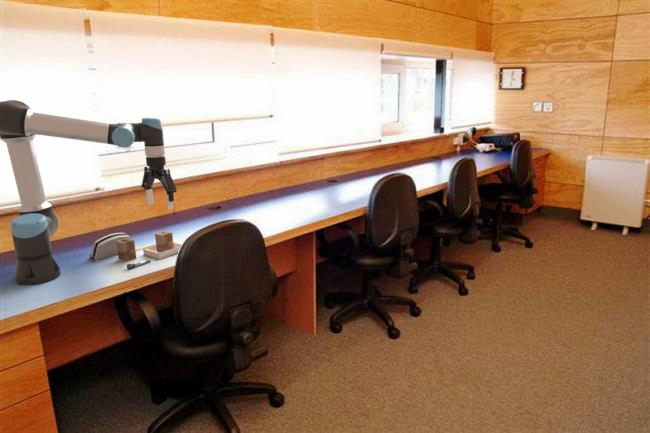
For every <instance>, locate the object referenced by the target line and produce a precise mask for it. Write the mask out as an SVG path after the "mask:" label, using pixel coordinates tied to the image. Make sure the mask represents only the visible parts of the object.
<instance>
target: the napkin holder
mask: <svg viewBox="0 0 650 433" xmlns="http://www.w3.org/2000/svg"><path fill="white" fill-rule="evenodd" d="M125 238H129V239H131V237H130V236H129V235H128V234H127V233H125V232H114V233H110V234H106V235H105V236H102V237H100V238H98V239H97V240H95V241H94V242H93V246H92V250H91V253H89V259H91V258H93V260H95V261H98V260H101V259H104V258H107V257H111V256H113V255H118V251H117V244H116V241H118V240H122V239H125Z"/></svg>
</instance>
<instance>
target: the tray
mask: <svg viewBox="0 0 650 433" xmlns="http://www.w3.org/2000/svg"><path fill="white" fill-rule="evenodd" d="M182 244H183V243H182V242H178V241H175V240H173V245H174V248H172V249H169V250H166V251H163V252H157V248H156V245H155V244H153V245H154V246H151V245H150V246H151V247H148V246H147V247H148V248H144V247H143V248H144V249H142V251H143V255H145V256H147V257H150V258H154V259H157V260H163V259H166V258H168V257H171V256H174V255H177V253H178V250H179V248H180V247H181V245H182ZM178 254H179V253H178Z"/></svg>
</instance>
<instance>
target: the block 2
mask: <svg viewBox="0 0 650 433" xmlns="http://www.w3.org/2000/svg"><path fill="white" fill-rule="evenodd" d="M154 236H155V237H154V238H155V244H156V248H157V252H163V251H166V250H169V249H172V248H174V245H173V241H174V236H173V232H171V231H168V230H163V231H160V232H156V233H154Z"/></svg>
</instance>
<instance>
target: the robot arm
mask: <svg viewBox="0 0 650 433" xmlns="http://www.w3.org/2000/svg"><path fill="white" fill-rule="evenodd" d="M36 136H44V137H45V136H46V137H53V138H61V139H67V140H69V139H70V140H77V141H82V142H83V141H84V142H90V143H100V144H106V145H112V146H117V147H119V148H129V147H130V146H132V145H133V144H134V143H142V142H143V143H144V144H143V145H144V155H145V156H146V157H145V163H146V166H144V167H143V169H144V170H143V171H144V172H143V176H142V181H141V188H143V189H144V190H145V196H146V204H147V206H151V205H154V204H155V203H154V202H155V201H154V192H153V184H154V182H155V180H158V181H159V182H160V183H161V185H162V186H163V189H164V190H165V192H166V193H165V198H166V199H165V200H166V207H167V208H166V210H168V211H170V210H174V209H175V206H174V202H175V200H174V193H177V191H178V190H177V188H176V185H175V183H174V181H173V178H172V175H171V169H170V168H166V169H165V166H166V164H167V162H166V156H165V154H166V153H165V142H164V141H165V140H164V130H163V122H162V119H161V118H160V117H158V116H147V117H142V118H141V122H136V123H135V122H134V123H133V122H131V123H130V122H126V123H122V122H119V123H106V122H101V121H94V120H93V121H92V120H85V119H80V118H73V117H67V116H60V115H53V114H46V113H39V112H34V111H33V110H32V108H31V107H30V106H29V105H28V104H27V103H25V102H23V101H19V100H14V99H9V100H2V101H0V140H1V141H2V142H4V143H5V144H6V147H7V150H8V151H7V152H8V155H9V159H10V165H11V167H12V173H13V176H14V180H15V184H16V188H17V192H18V195H19V200H20V207H18V209H17V212H18V215H19V216H16V217H15V218H13V219H12V220H11V222H10V234H11V236H12V237H11V238H12V241H13V242H12V243H13V247H14V253H15V258H16V265H15V270H14V275H13V277H14V282H15V284H18V285H23V286H24V285H25V286H28V285H29V286H30V285H37V284H38V285H39V284H42V283H47V282H49V281H52V280H55V279H57V278H58V277H60V276H61V274H62V273H61V268H60V266H59V265H60V264H58V262H57V260H56V258H55V257H54V256H53V251H52V245H51V244H52V243H51V238H52V237H53V236H54V234H56V232H57V230H58V228H59V218H58V216H57V214H56V213H55V212H54V209H53V205H52V203H50V202H48V201H47V198H46V197H47V196H46V193H45V188H44V185H43V181H42V176H41V172H40V168H39V167H40V166H39V163H38V159H37V154H36V150H35V145H34V141H33V140H34V139H35V137H36Z"/></svg>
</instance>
